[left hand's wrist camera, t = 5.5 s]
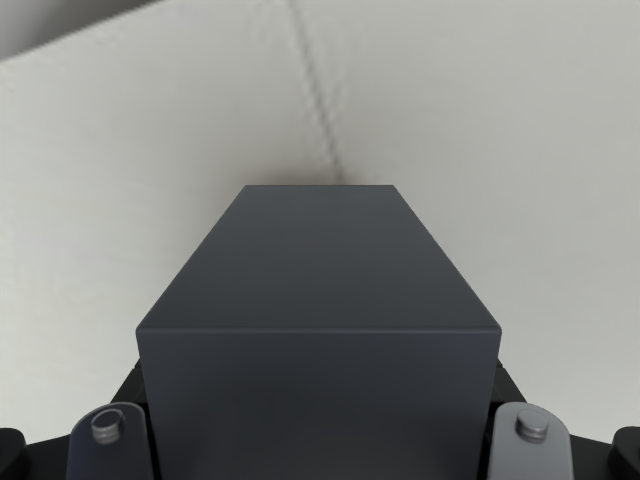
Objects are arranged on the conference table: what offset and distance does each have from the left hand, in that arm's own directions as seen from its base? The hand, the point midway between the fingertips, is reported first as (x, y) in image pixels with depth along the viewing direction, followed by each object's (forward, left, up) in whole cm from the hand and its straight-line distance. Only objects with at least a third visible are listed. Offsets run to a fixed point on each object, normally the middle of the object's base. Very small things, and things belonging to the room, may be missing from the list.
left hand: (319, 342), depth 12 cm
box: (+7, +4, -6) cm, 10 cm away
